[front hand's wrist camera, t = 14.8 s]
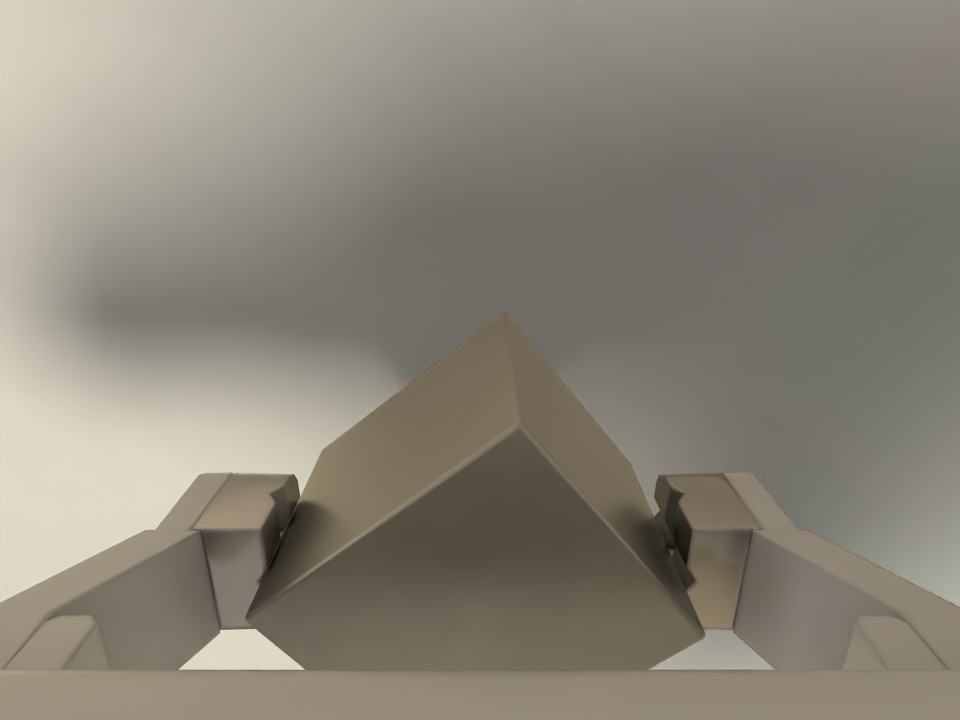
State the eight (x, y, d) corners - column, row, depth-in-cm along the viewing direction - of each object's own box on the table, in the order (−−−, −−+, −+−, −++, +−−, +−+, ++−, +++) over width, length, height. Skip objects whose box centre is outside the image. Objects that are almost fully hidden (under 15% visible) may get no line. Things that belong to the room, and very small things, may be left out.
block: (320, 449, 12) (240, 620, 8) (504, 309, 11) (519, 423, 7) (454, 580, 13) (444, 786, 9) (631, 464, 12) (708, 638, 8)
